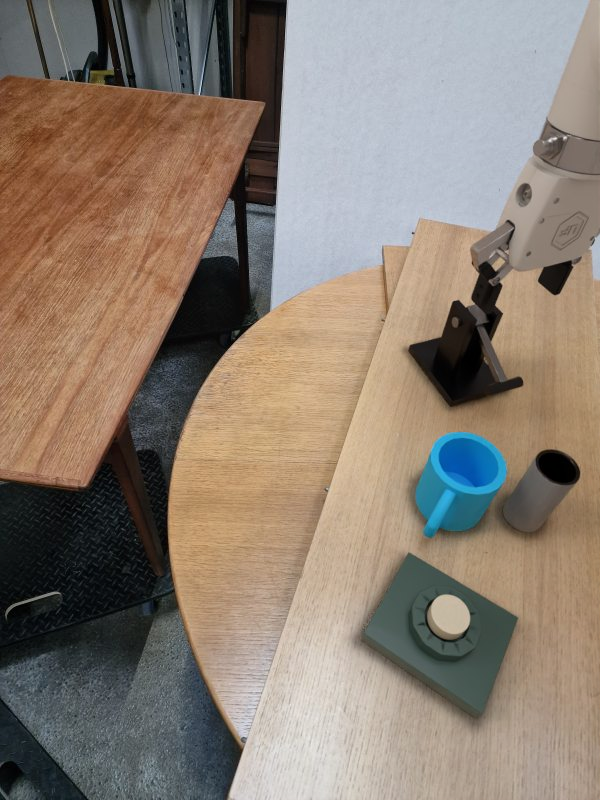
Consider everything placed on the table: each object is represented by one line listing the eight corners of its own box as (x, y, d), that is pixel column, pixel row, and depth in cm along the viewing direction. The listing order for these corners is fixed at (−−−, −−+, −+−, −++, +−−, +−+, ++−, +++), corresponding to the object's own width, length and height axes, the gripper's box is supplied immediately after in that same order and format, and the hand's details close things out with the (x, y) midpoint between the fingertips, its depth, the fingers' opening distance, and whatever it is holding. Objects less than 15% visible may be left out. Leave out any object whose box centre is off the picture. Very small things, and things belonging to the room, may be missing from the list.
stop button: (470, 615, 49) (476, 608, 48) (456, 648, 47) (461, 642, 46) (436, 593, 51) (440, 586, 49) (420, 625, 49) (424, 618, 47)
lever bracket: (503, 391, 74) (534, 328, 65) (450, 406, 72) (474, 344, 63) (457, 337, 81) (480, 274, 72) (407, 350, 79) (424, 287, 70)
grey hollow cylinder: (540, 538, 59) (581, 491, 51) (500, 525, 60) (534, 477, 52) (542, 505, 62) (581, 456, 54) (504, 493, 63) (536, 443, 55)
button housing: (510, 624, 53) (525, 610, 50) (475, 718, 47) (489, 709, 44) (404, 560, 57) (412, 544, 54) (360, 640, 51) (365, 627, 48)
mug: (432, 460, 66) (449, 420, 59) (493, 493, 63) (517, 455, 57) (387, 530, 59) (400, 493, 53) (453, 571, 56) (475, 537, 50)
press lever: (516, 389, 68) (527, 383, 66) (485, 398, 67) (495, 393, 65) (480, 308, 71) (490, 300, 69) (449, 316, 70) (458, 308, 68)
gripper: (533, 178, 42) (472, 335, 55) (682, 150, 47) (594, 300, 60) (478, 141, 47) (434, 294, 60) (620, 119, 52) (551, 264, 65)
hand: (514, 297), depth 60 cm, fingers open, 9 cm apart
